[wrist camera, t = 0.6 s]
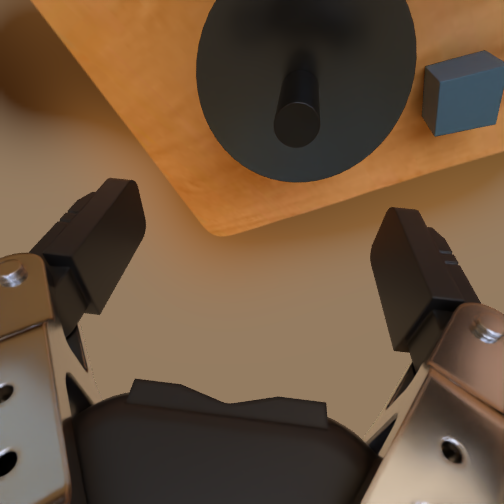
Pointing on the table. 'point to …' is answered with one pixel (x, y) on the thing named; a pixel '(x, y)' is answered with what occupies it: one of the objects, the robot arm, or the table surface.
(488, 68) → the block
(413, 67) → the lid
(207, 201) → the table surface
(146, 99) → the table surface
